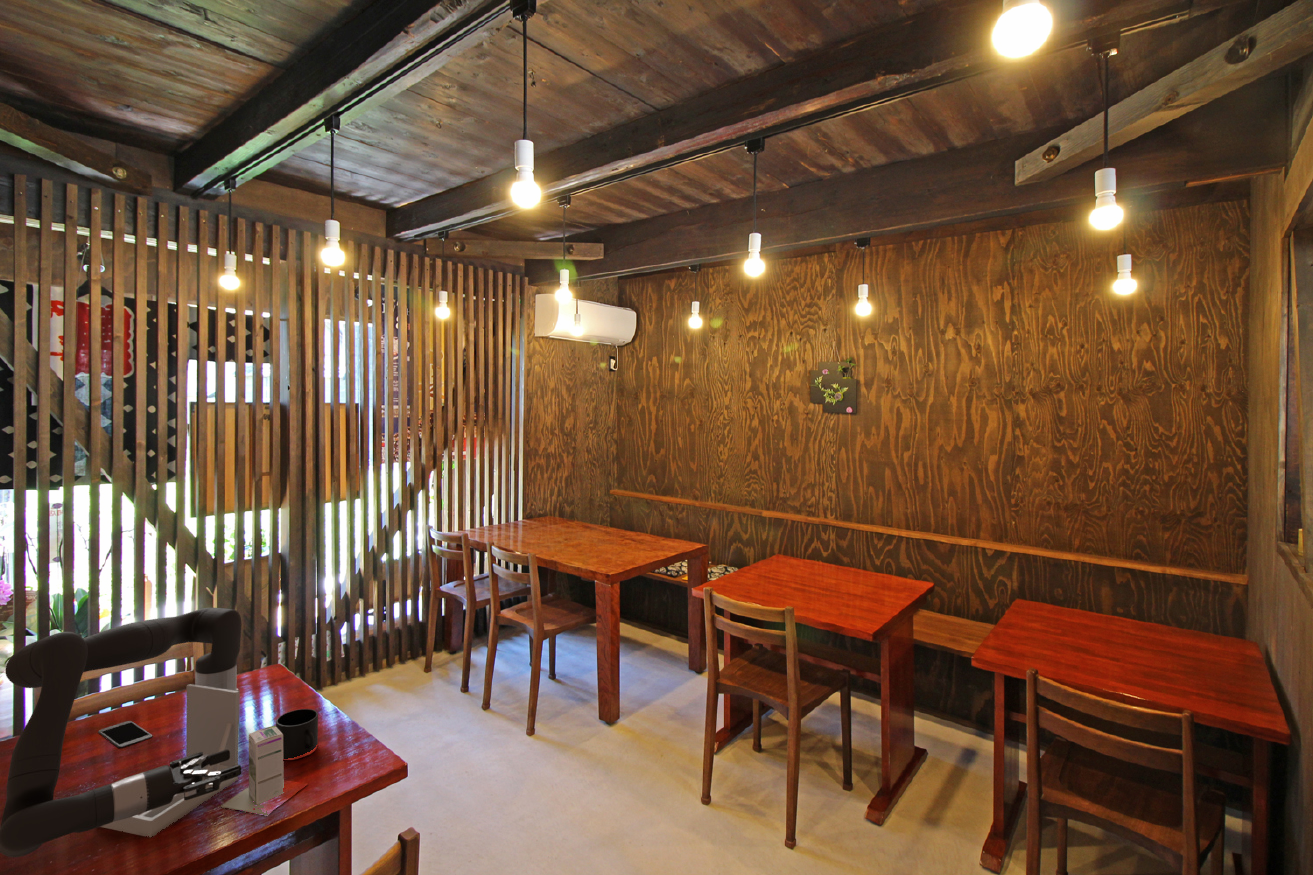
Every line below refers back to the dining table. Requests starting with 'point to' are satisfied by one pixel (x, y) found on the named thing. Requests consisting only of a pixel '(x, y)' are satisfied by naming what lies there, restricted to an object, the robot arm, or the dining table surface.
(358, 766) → the dining table surface
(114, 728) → the smartphone
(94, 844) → the dining table surface
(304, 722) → the mug
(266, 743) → the syrup box
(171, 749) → the dining table surface
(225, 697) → the white l-shaped holder
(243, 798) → the rubber mat
